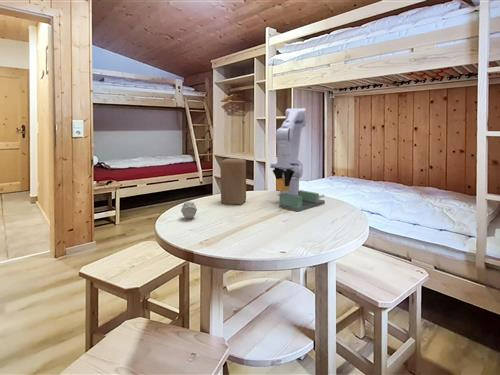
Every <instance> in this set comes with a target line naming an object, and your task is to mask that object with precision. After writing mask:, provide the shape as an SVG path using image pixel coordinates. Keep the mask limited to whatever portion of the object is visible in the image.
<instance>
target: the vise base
mask: <svg viewBox="0 0 500 375" xmlns="http://www.w3.org/2000/svg"><path fill="white" fill-rule="evenodd" d="M279 194H280V193H279ZM278 201H279V206H278V207H279V208H281V209H285V210H289V211H293V212H301V211H302V212H303V211H305V210H309V209H311V208H315V207H318V206H321V205H325V203H326V200H324V199H321V198H319V202H317V203H315V202H310V201H305V200H302V196H297V195H292V194H287V193H282V194H280V195H279V200H278Z"/></svg>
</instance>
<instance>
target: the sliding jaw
mask: <svg viewBox="0 0 500 375" xmlns="http://www.w3.org/2000/svg"><path fill="white" fill-rule="evenodd" d="M298 196H302V200H305V201H310V202H315V203H317V202H319V199H321V198H324V197H325V194H323V193H322V194H320V193H319V192H314V191H307V190H302V189H299V191H298Z"/></svg>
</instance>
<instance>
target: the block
mask: <svg viewBox="0 0 500 375" xmlns="http://www.w3.org/2000/svg"><path fill="white" fill-rule="evenodd" d="M219 164H220V166H219V167H220V168H219V170H220V171H219V172H220V173H219V174H220V202H221V204H222V205H231V204H234V206H237V205H238V206H240V205H241V206H242V205H243V203H245V202H246V200H247V160H246V159H245V158H225V159H222V160H221V161H220V163H219Z"/></svg>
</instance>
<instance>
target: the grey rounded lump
mask: <svg viewBox="0 0 500 375" xmlns="http://www.w3.org/2000/svg"><path fill="white" fill-rule="evenodd" d="M197 211H198V208H197V206H196V204H195V202H193V201H191V200H189V201H188V200H187V201H185V202H184V203H183V204H182V206H181V209H180V213H181V214H182V215H183V217H184V218H185V219H190V218H191V219H193V218H194V217H195V215H196V214H197Z"/></svg>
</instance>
